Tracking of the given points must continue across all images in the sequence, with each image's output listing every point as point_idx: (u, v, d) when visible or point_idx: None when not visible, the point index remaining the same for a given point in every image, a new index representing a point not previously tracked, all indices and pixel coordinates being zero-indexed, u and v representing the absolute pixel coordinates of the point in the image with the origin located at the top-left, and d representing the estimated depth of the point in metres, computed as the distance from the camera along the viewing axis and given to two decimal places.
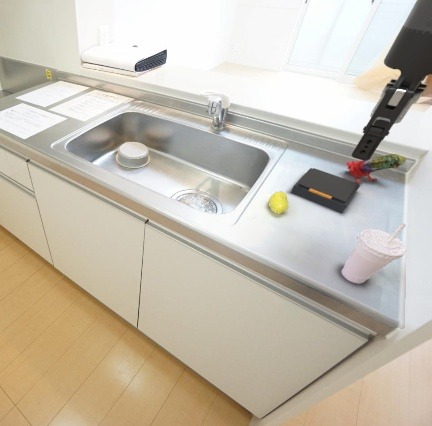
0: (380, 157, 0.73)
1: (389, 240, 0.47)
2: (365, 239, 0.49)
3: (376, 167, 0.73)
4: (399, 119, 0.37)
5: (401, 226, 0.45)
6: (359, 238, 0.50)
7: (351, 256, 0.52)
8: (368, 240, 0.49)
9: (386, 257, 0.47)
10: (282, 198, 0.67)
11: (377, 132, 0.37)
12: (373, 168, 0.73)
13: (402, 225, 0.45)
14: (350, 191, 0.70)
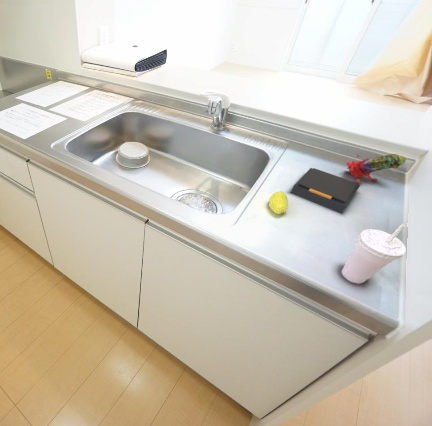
0: (380, 157, 0.73)
1: (389, 240, 0.47)
2: (365, 239, 0.49)
3: (376, 167, 0.73)
4: None
5: (401, 226, 0.45)
6: (359, 238, 0.50)
7: (351, 256, 0.52)
8: (368, 240, 0.49)
9: (386, 257, 0.47)
10: (282, 198, 0.67)
11: None
12: (373, 168, 0.73)
13: (402, 225, 0.45)
14: (350, 191, 0.70)
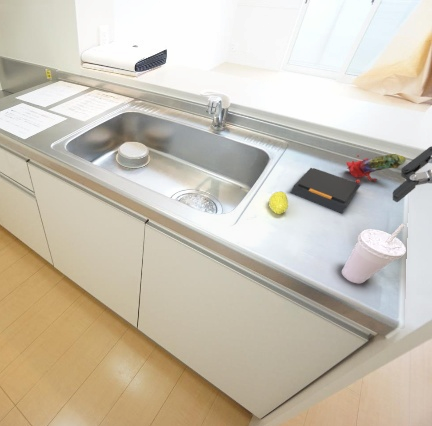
0: (380, 157, 0.73)
1: (389, 240, 0.47)
2: (365, 239, 0.49)
3: (376, 167, 0.73)
4: (429, 170, 0.48)
5: (401, 226, 0.45)
6: (359, 238, 0.50)
7: (351, 256, 0.52)
8: (368, 240, 0.49)
9: (386, 257, 0.47)
10: (282, 198, 0.67)
11: None
12: (373, 168, 0.73)
13: (402, 225, 0.45)
14: (350, 191, 0.70)
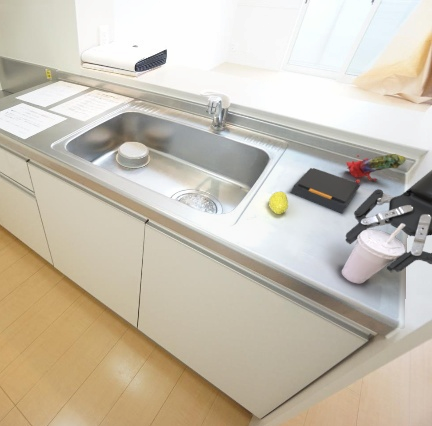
0: (380, 157, 0.73)
1: (389, 240, 0.47)
2: (365, 239, 0.49)
3: (376, 167, 0.73)
4: (377, 214, 0.49)
5: (401, 226, 0.45)
6: (359, 238, 0.50)
7: (351, 256, 0.52)
8: (367, 240, 0.49)
9: (385, 257, 0.47)
10: (282, 198, 0.67)
11: None
12: (373, 168, 0.73)
13: (402, 225, 0.45)
14: (350, 191, 0.70)
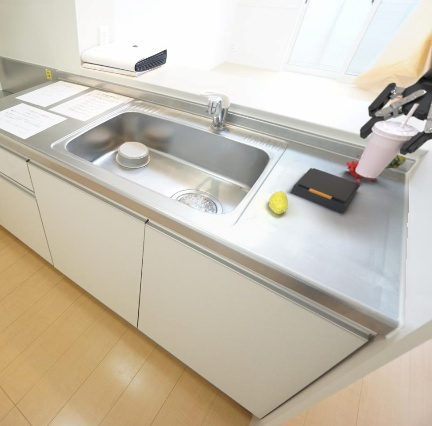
0: None
1: (402, 124, 0.50)
2: (379, 127, 0.51)
3: None
4: (390, 104, 0.52)
5: (414, 106, 0.48)
6: (373, 128, 0.52)
7: (365, 150, 0.55)
8: (382, 127, 0.51)
9: (399, 139, 0.49)
10: (282, 198, 0.67)
11: None
12: None
13: (415, 105, 0.47)
14: (350, 191, 0.70)
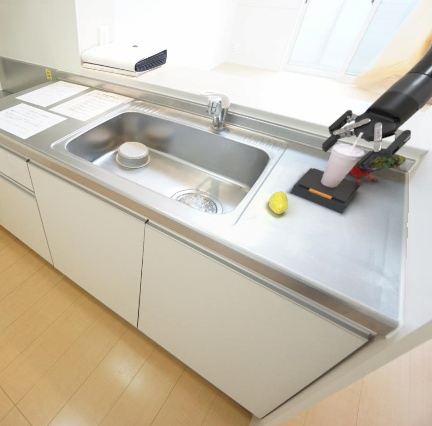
0: (380, 157, 0.73)
1: (353, 147, 0.65)
2: (336, 148, 0.67)
3: (376, 167, 0.73)
4: (345, 126, 0.67)
5: (360, 134, 0.63)
6: (332, 149, 0.68)
7: (327, 165, 0.70)
8: (338, 149, 0.67)
9: (350, 159, 0.65)
10: (282, 198, 0.67)
11: None
12: (373, 168, 0.73)
13: (361, 133, 0.63)
14: (350, 191, 0.70)
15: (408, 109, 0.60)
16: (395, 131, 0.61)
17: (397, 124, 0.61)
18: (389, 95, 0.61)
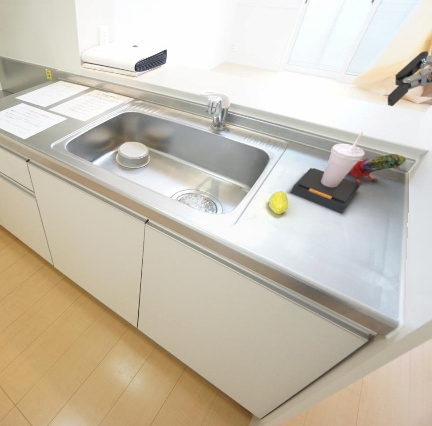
0: (380, 157, 0.73)
1: (352, 147, 0.65)
2: (336, 148, 0.67)
3: (376, 167, 0.73)
4: (420, 71, 0.53)
5: (360, 134, 0.63)
6: (332, 149, 0.68)
7: (327, 165, 0.70)
8: (338, 149, 0.67)
9: (350, 159, 0.65)
10: (282, 198, 0.67)
11: None
12: (373, 168, 0.73)
13: (360, 133, 0.63)
14: (350, 191, 0.70)
15: None
16: None
17: None
18: None
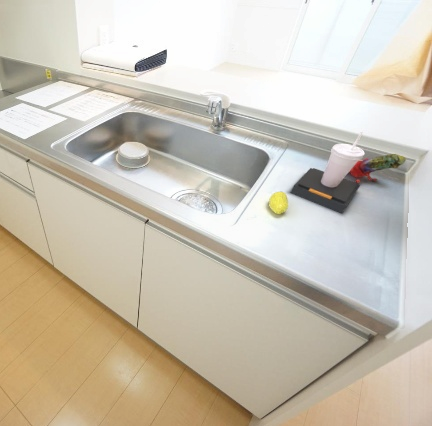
0: (380, 157, 0.73)
1: (352, 147, 0.65)
2: (336, 148, 0.67)
3: (376, 167, 0.73)
4: None
5: (360, 134, 0.63)
6: (332, 149, 0.68)
7: (327, 165, 0.70)
8: (338, 149, 0.67)
9: (350, 159, 0.65)
10: (282, 198, 0.67)
11: None
12: (373, 168, 0.73)
13: (360, 133, 0.63)
14: (350, 191, 0.70)
15: None
16: None
17: None
18: None
